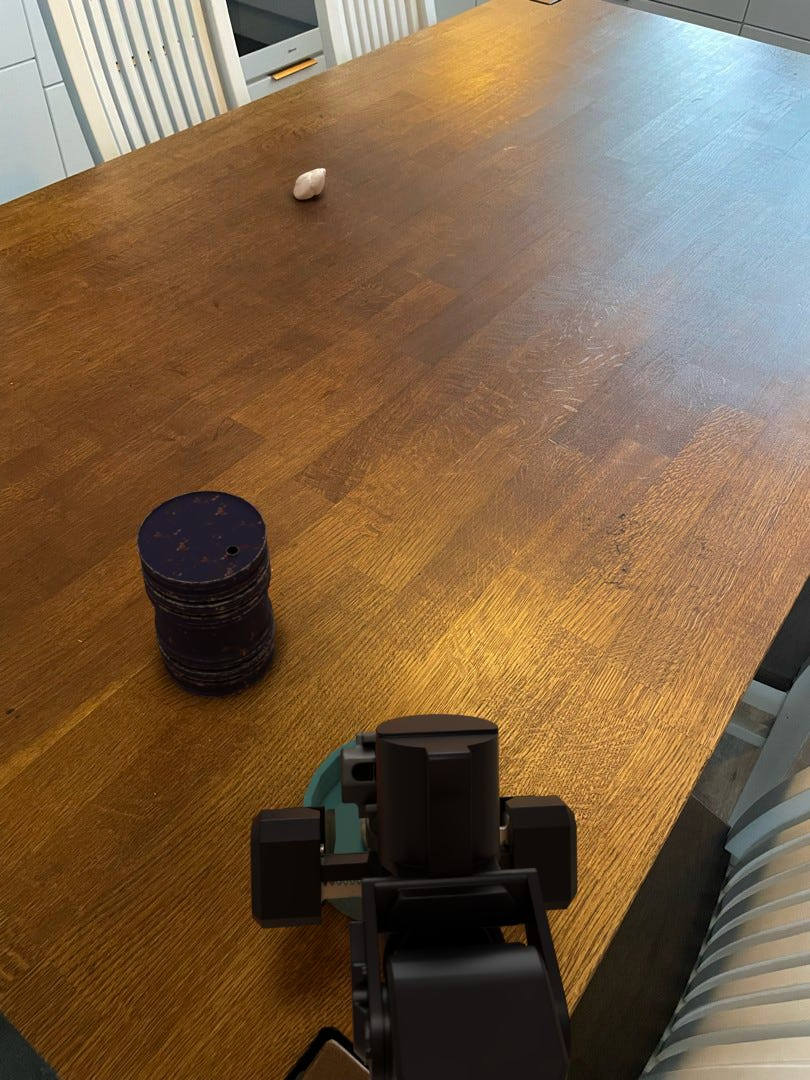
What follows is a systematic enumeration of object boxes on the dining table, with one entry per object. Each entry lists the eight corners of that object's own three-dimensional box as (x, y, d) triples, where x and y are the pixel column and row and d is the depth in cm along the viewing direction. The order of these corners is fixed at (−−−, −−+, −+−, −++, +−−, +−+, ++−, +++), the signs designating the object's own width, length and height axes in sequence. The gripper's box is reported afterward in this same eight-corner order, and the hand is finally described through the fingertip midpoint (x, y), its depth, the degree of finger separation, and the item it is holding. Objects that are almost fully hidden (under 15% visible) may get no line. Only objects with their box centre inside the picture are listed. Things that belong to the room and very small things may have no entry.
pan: (484, 929, 63) (493, 904, 60) (298, 928, 62) (296, 903, 59) (471, 762, 72) (478, 733, 69) (308, 759, 72) (308, 729, 68)
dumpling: (324, 207, 136) (318, 184, 132) (292, 208, 137) (285, 186, 134) (333, 179, 139) (327, 156, 136) (302, 181, 141) (295, 158, 137)
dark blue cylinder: (137, 663, 77) (106, 546, 66) (211, 591, 83) (193, 472, 72) (229, 718, 74) (212, 605, 63) (298, 638, 80) (294, 522, 69)
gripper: (611, 747, 45) (534, 688, 61) (239, 764, 43) (258, 699, 59) (613, 963, 46) (536, 850, 61) (243, 989, 44) (261, 865, 59)
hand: (400, 812), depth 60 cm, fingers open, 9 cm apart
